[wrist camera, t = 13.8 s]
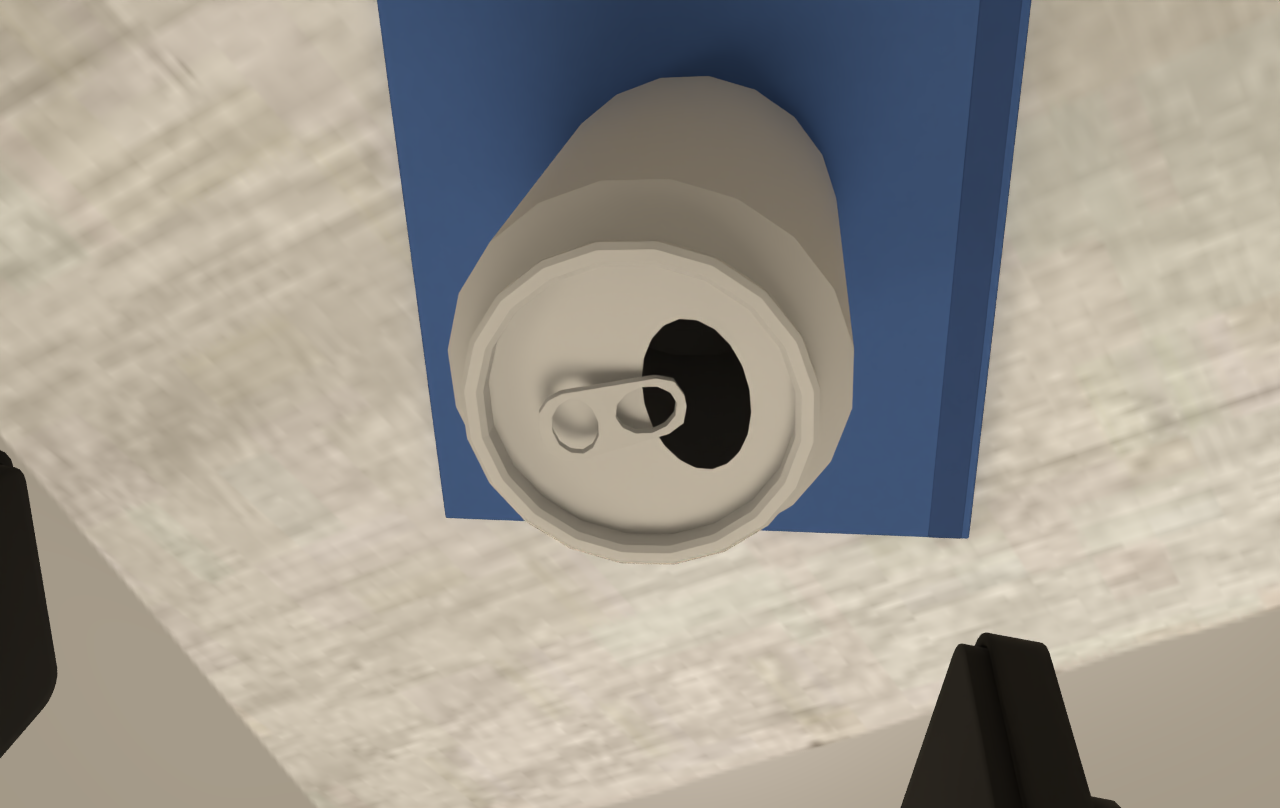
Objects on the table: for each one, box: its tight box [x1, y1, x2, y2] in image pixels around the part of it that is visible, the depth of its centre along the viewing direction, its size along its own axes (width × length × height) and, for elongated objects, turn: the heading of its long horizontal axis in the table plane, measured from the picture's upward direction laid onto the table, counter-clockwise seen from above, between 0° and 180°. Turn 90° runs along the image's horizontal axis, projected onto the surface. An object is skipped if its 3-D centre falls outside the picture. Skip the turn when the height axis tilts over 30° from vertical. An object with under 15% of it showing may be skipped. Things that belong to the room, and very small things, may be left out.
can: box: [448, 76, 854, 564], centre depth 24 cm, size 8×8×12 cm
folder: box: [377, 0, 1031, 539], centre depth 30 cm, size 20×16×1 cm
